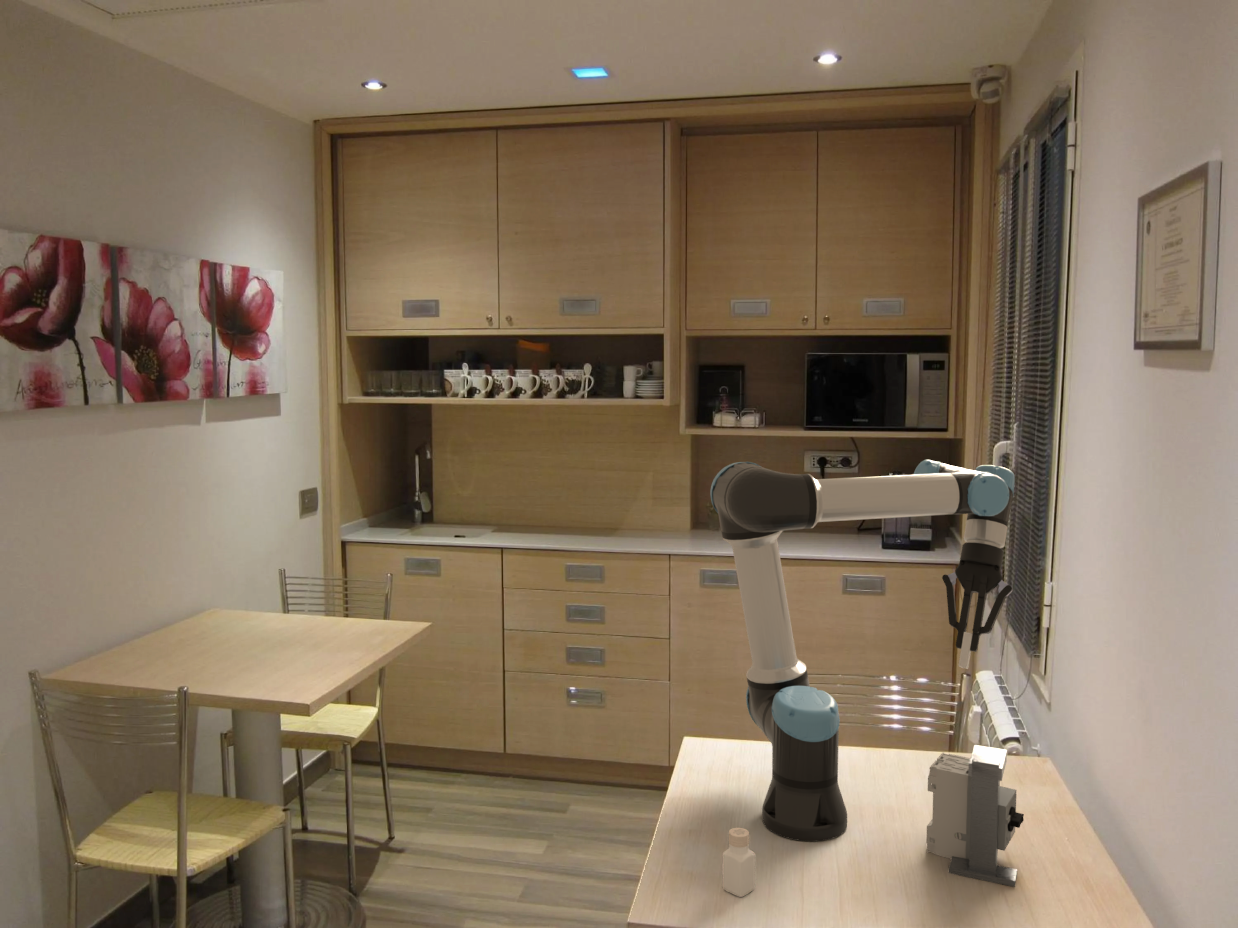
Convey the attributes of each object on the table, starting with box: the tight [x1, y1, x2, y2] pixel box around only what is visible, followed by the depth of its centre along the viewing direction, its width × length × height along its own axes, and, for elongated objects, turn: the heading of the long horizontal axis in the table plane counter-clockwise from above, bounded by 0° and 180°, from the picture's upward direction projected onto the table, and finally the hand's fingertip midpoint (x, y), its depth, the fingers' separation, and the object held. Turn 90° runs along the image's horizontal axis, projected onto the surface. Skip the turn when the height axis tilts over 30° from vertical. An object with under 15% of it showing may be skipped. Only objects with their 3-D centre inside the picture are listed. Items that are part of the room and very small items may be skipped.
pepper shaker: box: [722, 827, 756, 898], centre depth 153 cm, size 4×4×10 cm
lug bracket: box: [948, 744, 1018, 888], centre depth 160 cm, size 10×10×19 cm
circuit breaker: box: [925, 752, 1024, 860], centre depth 164 cm, size 8×14×15 cm, turn 56°
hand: (963, 667), depth 183 cm, fingers closed
